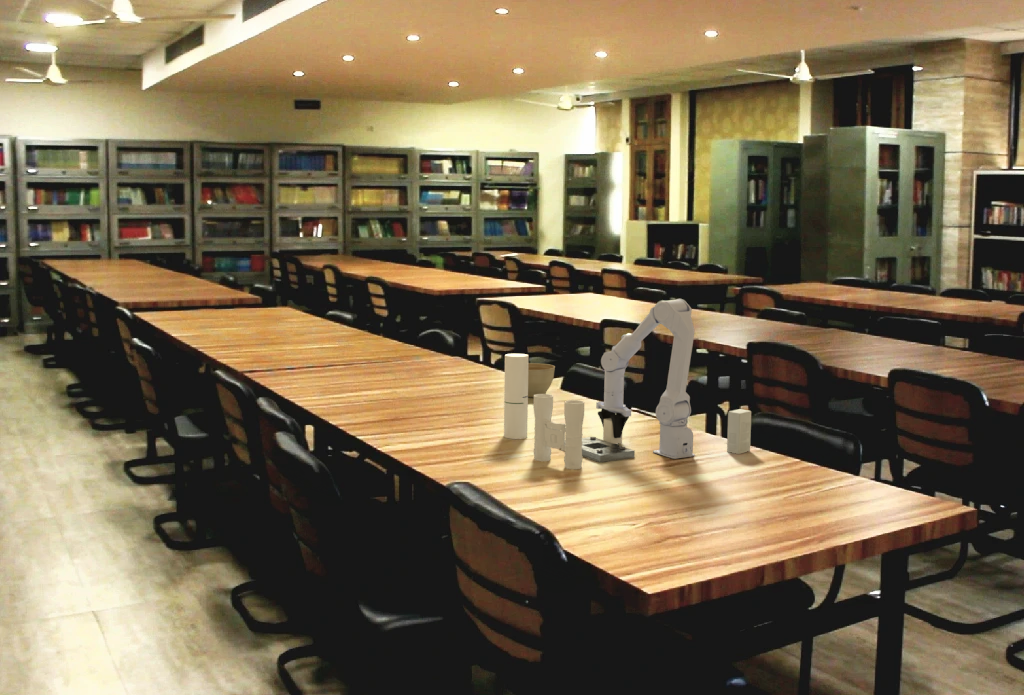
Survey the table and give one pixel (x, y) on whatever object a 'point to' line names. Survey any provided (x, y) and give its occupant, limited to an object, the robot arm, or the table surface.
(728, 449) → the skincare box
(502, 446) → the table surface
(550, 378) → the planter bowl
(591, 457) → the strike plate
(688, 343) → the robot arm
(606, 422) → the cream rectangular block
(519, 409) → the cylindrical container
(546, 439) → the binoculars
